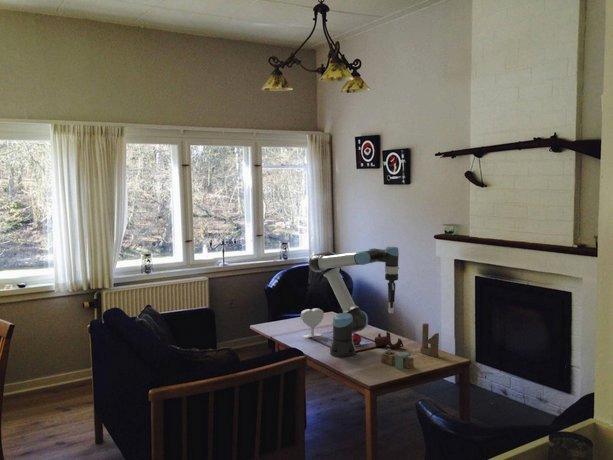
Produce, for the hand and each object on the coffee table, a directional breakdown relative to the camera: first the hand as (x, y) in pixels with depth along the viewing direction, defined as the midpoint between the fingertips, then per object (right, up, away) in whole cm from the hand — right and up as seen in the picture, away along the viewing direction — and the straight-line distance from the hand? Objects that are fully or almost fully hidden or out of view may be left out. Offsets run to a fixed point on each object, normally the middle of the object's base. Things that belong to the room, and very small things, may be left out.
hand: (391, 312), depth 317 cm
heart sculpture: (-46, -23, +45) cm, 68 cm away
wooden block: (+24, -26, +6) cm, 36 cm away
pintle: (-2, -27, -6) cm, 28 cm away
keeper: (+5, -28, -15) cm, 32 cm away
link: (+2, -27, -10) cm, 30 cm away
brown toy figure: (+2, -25, +21) cm, 32 cm away
